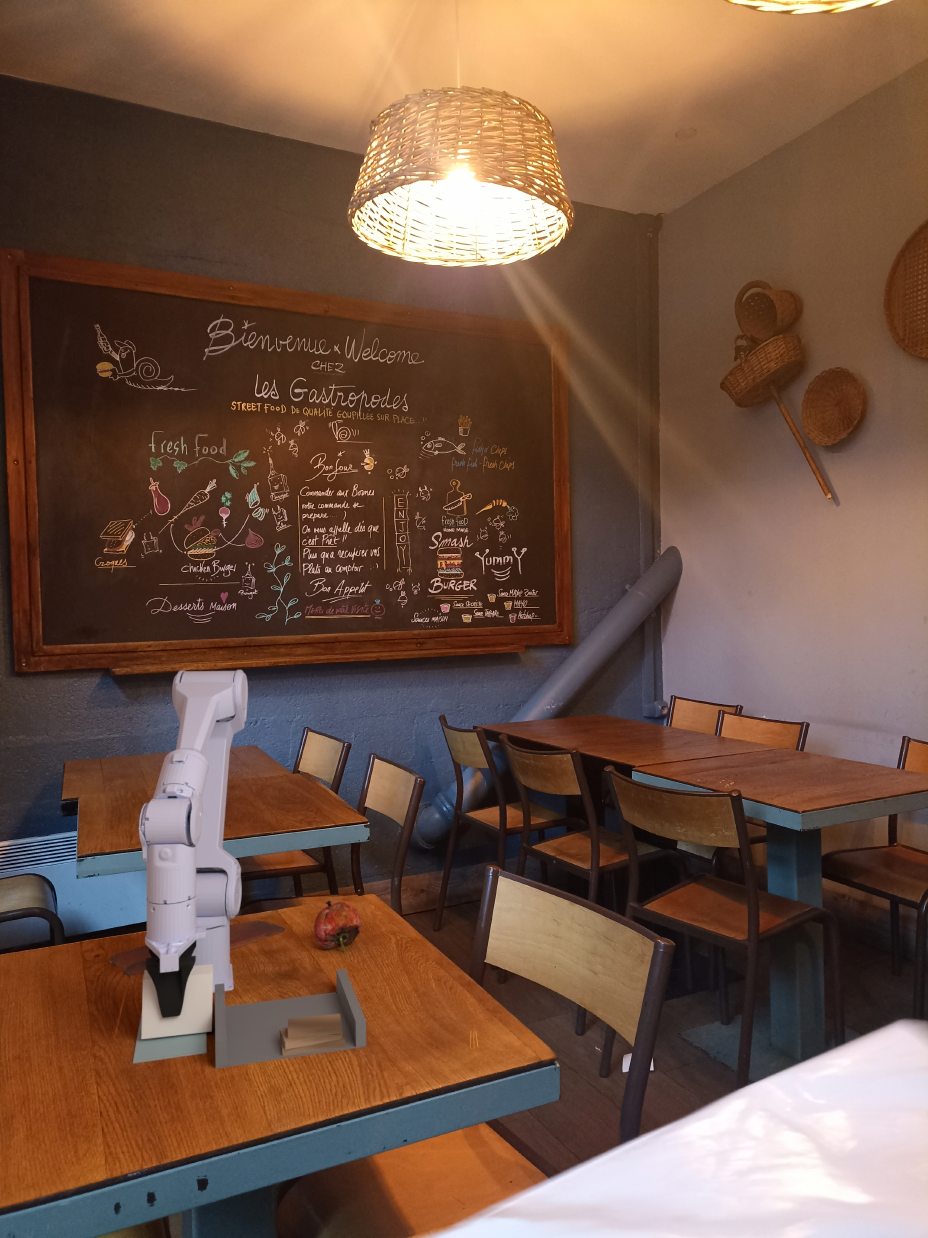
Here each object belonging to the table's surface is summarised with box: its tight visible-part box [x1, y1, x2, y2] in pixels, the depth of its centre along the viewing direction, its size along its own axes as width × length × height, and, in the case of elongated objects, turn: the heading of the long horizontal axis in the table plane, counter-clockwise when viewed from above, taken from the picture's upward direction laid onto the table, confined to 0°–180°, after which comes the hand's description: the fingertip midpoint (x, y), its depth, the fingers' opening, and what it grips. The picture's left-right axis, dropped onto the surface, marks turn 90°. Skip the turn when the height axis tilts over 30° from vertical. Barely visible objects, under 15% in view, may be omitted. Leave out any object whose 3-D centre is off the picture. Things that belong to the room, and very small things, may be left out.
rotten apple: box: [313, 900, 363, 954], centre depth 133 cm, size 7×7×10 cm
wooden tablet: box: [109, 920, 286, 977], centre depth 134 cm, size 27×10×2 cm, turn 136°
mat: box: [132, 1015, 208, 1064], centre depth 104 cm, size 12×8×1 cm, turn 17°
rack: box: [214, 968, 367, 1069], centre depth 106 cm, size 16×17×4 cm
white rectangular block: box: [141, 964, 214, 1039], centre depth 104 cm, size 3×8×7 cm, turn 107°
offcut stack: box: [280, 1014, 345, 1056], centre depth 101 cm, size 4×7×2 cm, turn 107°
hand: (172, 1009), depth 104 cm, fingers closed on white rectangular block, 3 cm apart
